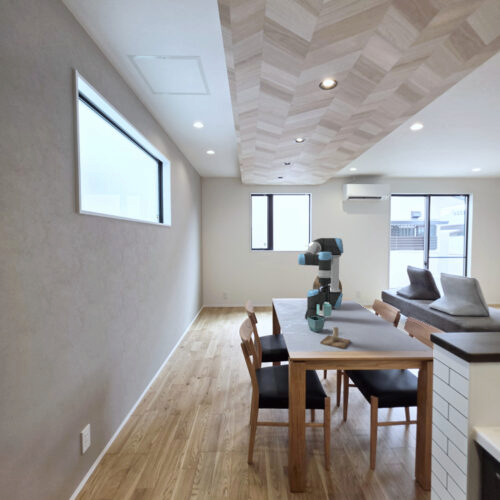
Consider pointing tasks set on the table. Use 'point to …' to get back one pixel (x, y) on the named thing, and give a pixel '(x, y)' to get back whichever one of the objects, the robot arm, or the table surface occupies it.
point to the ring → (325, 309)
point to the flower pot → (316, 323)
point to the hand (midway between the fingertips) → (324, 313)
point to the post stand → (335, 340)
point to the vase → (318, 285)
